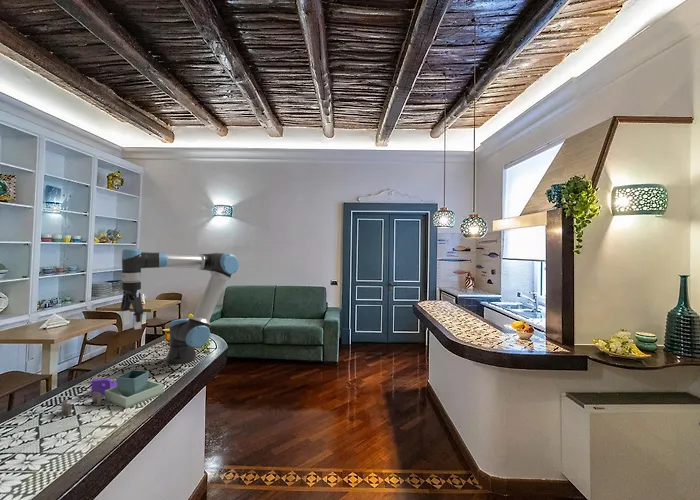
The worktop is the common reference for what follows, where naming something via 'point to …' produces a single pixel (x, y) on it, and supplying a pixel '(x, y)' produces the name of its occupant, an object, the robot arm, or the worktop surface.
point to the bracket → (103, 385)
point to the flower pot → (132, 382)
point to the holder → (67, 407)
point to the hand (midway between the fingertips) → (131, 326)
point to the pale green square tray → (126, 402)
